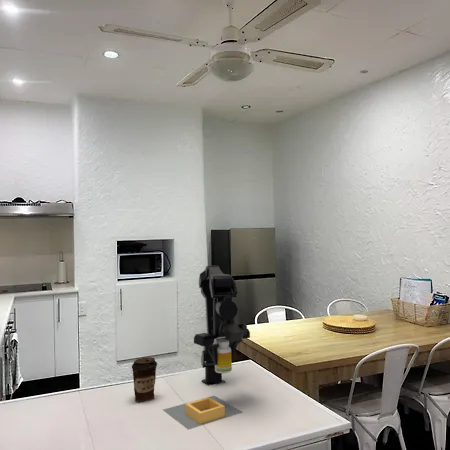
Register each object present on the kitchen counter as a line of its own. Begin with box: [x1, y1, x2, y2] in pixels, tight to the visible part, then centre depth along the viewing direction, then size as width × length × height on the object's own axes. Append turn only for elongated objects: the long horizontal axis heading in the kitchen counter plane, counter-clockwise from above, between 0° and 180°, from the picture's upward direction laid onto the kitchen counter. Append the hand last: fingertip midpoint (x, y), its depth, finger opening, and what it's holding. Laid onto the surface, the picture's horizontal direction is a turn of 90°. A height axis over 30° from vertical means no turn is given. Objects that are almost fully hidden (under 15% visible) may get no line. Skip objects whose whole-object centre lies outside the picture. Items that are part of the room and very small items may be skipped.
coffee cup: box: [131, 356, 158, 403], centre depth 137 cm, size 9×8×13 cm
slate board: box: [162, 395, 243, 430], centre depth 126 cm, size 16×19×1 cm
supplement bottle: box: [215, 339, 233, 374], centre depth 133 cm, size 5×5×10 cm
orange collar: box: [184, 396, 225, 424], centre depth 123 cm, size 8×8×3 cm
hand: (223, 363), depth 133 cm, fingers closed on supplement bottle, 5 cm apart
